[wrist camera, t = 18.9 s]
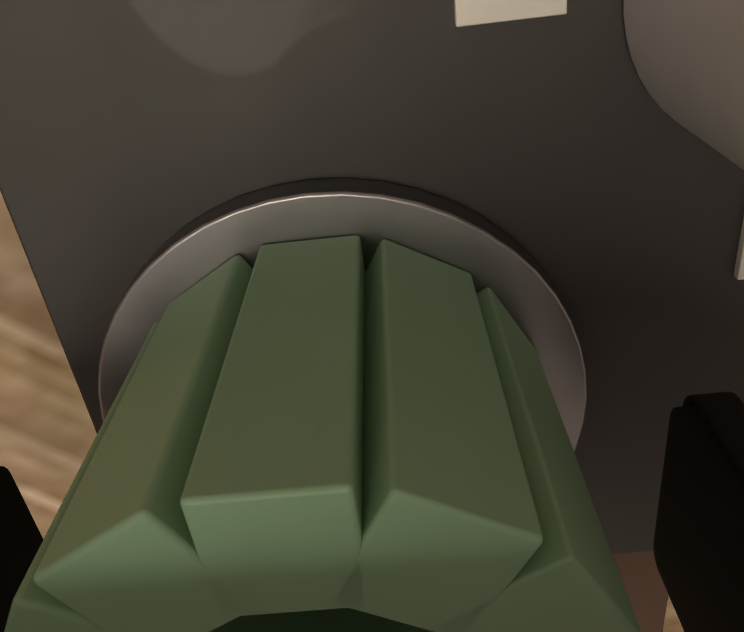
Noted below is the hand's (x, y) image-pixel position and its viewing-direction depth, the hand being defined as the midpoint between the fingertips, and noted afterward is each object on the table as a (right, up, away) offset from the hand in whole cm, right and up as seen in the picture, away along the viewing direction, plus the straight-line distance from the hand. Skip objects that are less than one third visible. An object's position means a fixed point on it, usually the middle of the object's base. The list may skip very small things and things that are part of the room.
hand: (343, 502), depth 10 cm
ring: (0, +1, +2) cm, 2 cm away
